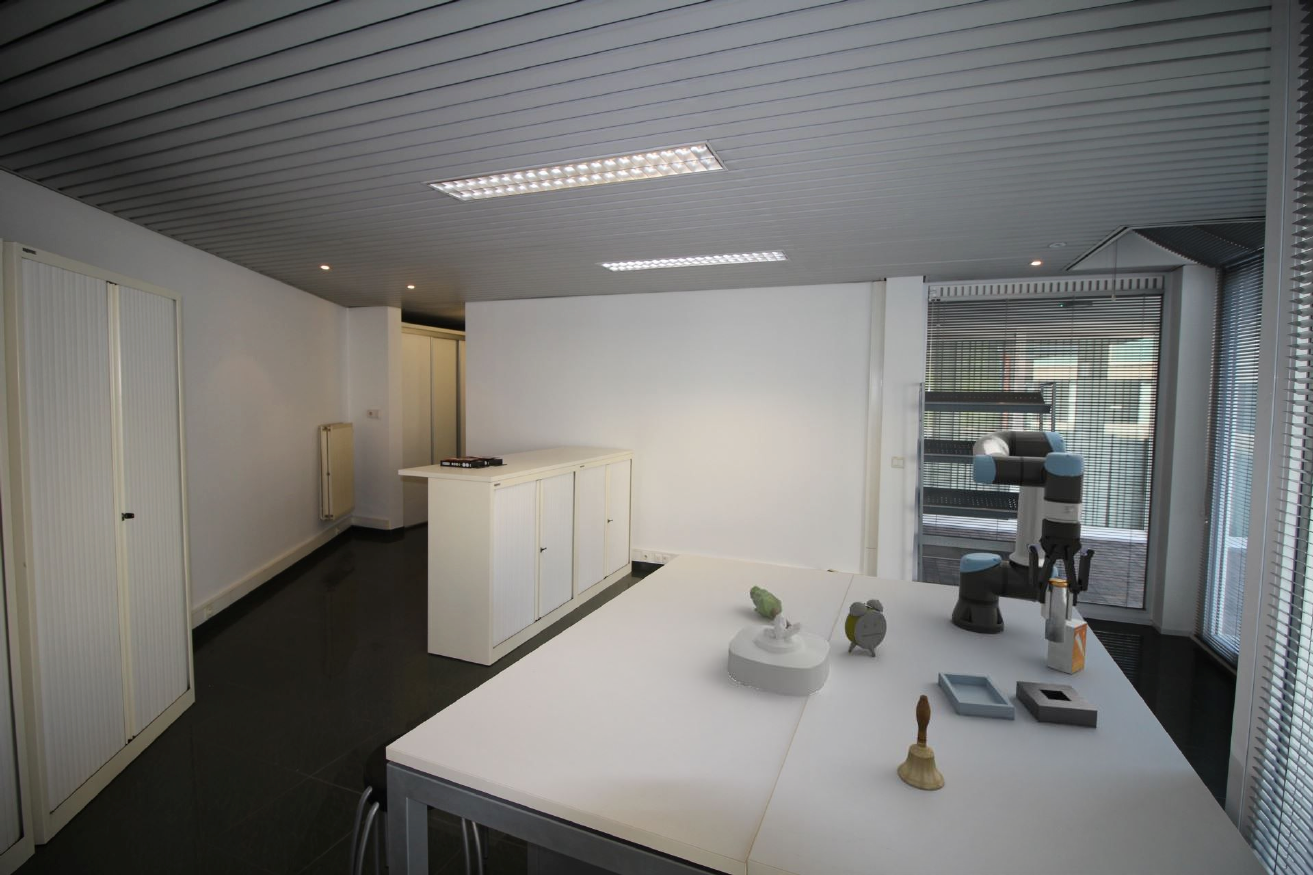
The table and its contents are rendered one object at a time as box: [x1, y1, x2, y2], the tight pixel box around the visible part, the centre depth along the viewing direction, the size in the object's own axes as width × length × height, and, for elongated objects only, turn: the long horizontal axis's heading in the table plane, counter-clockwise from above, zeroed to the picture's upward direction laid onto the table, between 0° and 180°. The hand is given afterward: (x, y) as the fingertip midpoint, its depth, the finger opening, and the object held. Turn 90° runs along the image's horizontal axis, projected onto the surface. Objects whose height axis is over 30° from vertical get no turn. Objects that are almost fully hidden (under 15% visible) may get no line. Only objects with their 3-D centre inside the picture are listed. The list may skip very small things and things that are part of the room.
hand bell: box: [897, 694, 945, 791], centre depth 115 cm, size 8×8×16 cm
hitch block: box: [1015, 680, 1098, 729], centre depth 141 cm, size 12×12×4 cm
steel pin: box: [1044, 578, 1069, 643], centre depth 140 cm, size 4×4×14 cm
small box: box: [1046, 617, 1088, 675], centre depth 165 cm, size 8×6×13 cm
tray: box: [937, 671, 1016, 721], centre depth 146 cm, size 16×12×3 cm
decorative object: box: [749, 585, 792, 629], centre depth 199 cm, size 9×10×25 cm
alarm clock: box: [844, 598, 888, 657], centre depth 172 cm, size 12×7×15 cm, turn 112°
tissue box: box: [727, 612, 831, 697], centre depth 160 cm, size 25×25×16 cm
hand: (1055, 617), depth 140 cm, fingers closed on steel pin, 4 cm apart
